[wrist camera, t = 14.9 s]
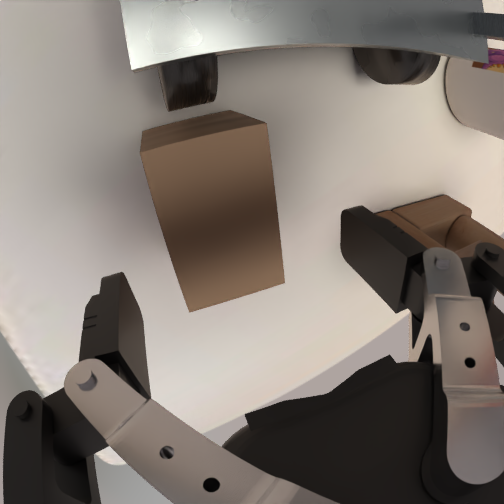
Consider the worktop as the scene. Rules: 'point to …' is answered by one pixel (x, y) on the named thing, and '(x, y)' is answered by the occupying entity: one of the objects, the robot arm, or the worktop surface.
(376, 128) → the worktop surface
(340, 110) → the worktop surface
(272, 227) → the block
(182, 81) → the trolley
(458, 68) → the milk bottle
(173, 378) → the worktop surface
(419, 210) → the wooden block
